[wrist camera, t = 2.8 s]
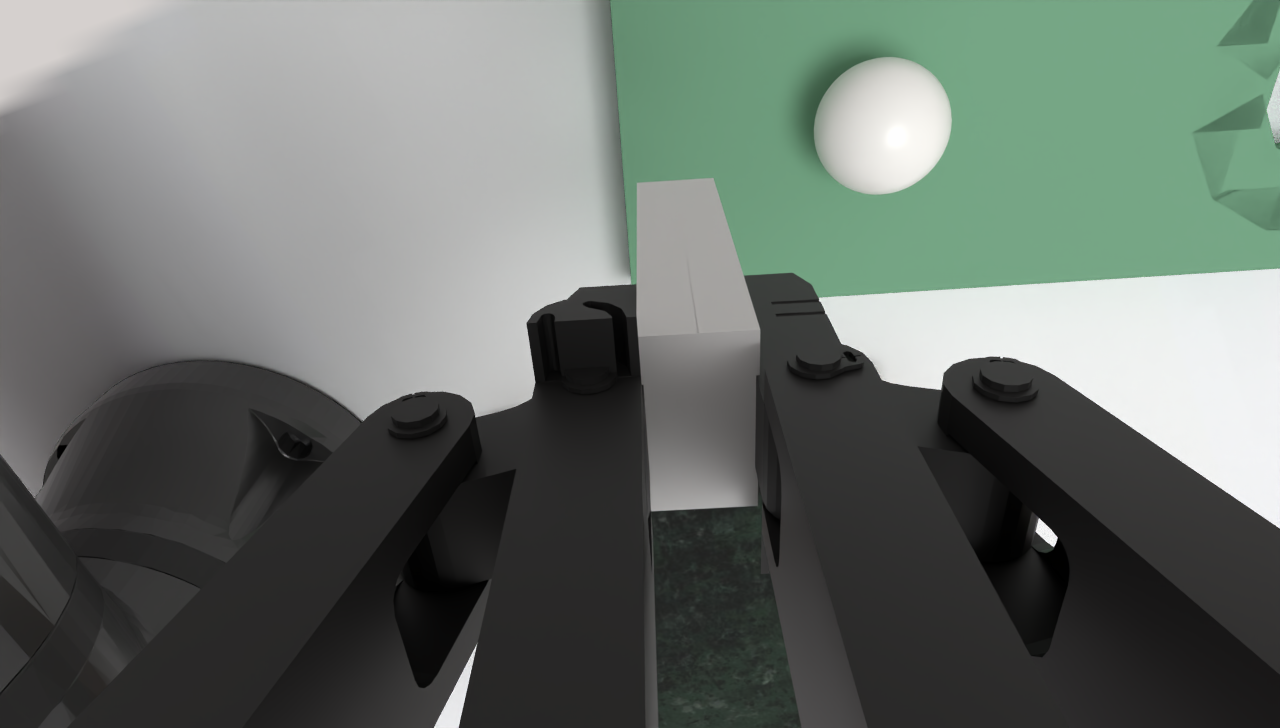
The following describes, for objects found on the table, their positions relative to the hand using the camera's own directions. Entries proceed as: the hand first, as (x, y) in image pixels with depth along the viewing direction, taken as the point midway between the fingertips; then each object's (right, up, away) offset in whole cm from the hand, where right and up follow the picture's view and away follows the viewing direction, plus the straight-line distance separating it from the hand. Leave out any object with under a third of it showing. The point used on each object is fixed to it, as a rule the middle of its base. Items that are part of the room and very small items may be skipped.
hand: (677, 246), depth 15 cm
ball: (+7, +5, +8) cm, 11 cm away
